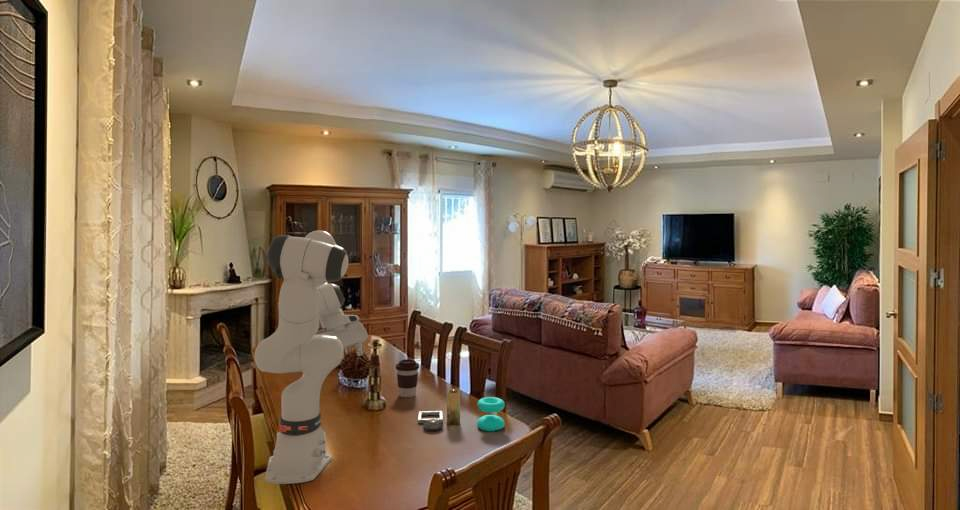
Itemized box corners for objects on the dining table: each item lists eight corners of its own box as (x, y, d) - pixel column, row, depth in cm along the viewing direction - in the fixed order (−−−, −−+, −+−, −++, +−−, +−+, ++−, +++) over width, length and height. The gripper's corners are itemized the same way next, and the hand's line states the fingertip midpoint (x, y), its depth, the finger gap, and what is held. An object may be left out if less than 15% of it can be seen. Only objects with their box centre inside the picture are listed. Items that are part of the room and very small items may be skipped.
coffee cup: (421, 392, 230) (421, 358, 229) (416, 399, 220) (416, 364, 219) (399, 391, 231) (399, 357, 230) (393, 398, 221) (393, 363, 220)
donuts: (472, 401, 188) (486, 394, 197) (472, 428, 189) (485, 420, 197) (496, 406, 183) (509, 398, 192) (496, 434, 184) (509, 425, 192)
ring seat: (442, 423, 194) (442, 419, 194) (418, 423, 193) (418, 419, 193) (442, 414, 203) (442, 410, 203) (418, 414, 202) (418, 411, 202)
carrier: (443, 431, 186) (443, 424, 186) (423, 431, 185) (423, 425, 185) (442, 419, 197) (442, 412, 197) (423, 419, 197) (423, 413, 197)
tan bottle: (460, 425, 191) (460, 392, 191) (446, 426, 191) (447, 392, 190) (459, 420, 196) (460, 387, 196) (446, 421, 196) (446, 388, 195)
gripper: (313, 329, 180) (329, 366, 177) (361, 314, 195) (376, 348, 193) (306, 336, 184) (321, 371, 181) (353, 320, 199) (368, 353, 197)
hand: (350, 359), depth 187 cm, fingers open, 8 cm apart
